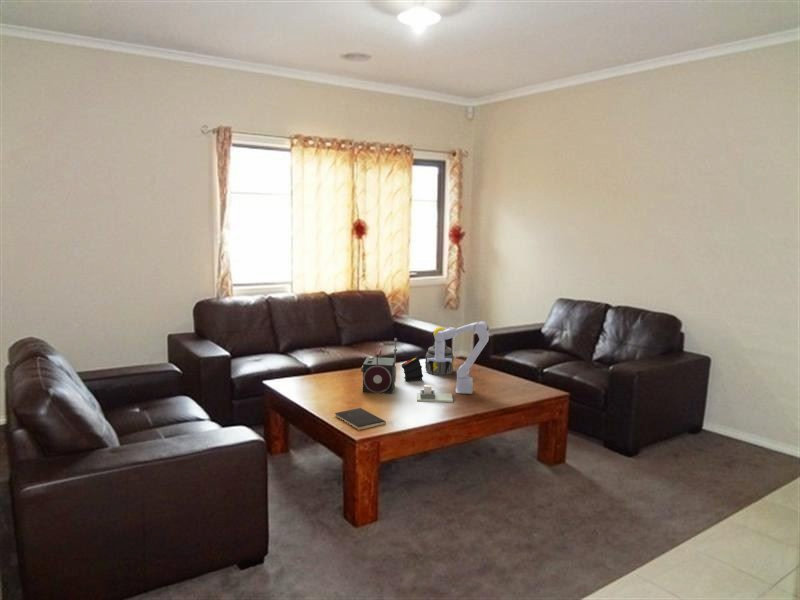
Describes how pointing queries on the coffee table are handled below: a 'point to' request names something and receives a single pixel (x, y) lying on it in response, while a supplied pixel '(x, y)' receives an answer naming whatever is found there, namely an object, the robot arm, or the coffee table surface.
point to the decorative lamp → (439, 366)
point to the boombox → (379, 374)
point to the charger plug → (427, 389)
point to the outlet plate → (434, 397)
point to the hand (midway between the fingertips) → (439, 373)
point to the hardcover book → (360, 418)
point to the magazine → (412, 370)
